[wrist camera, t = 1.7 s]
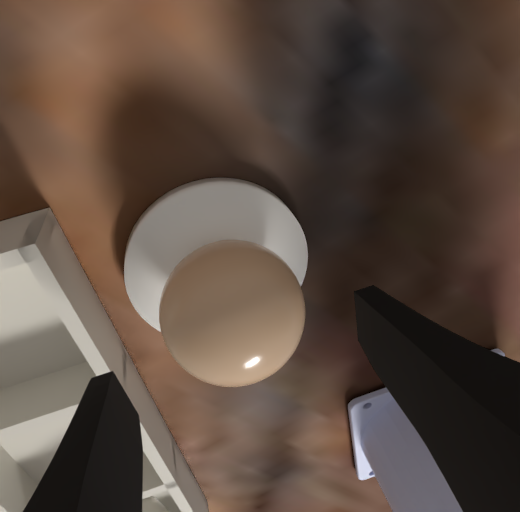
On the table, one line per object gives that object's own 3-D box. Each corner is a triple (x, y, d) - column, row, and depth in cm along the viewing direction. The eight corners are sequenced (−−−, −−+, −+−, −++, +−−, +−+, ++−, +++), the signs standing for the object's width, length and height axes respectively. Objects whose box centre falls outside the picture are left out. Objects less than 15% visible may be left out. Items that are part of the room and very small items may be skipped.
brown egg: (269, 198, 15) (318, 271, 11) (289, 300, 18) (335, 389, 14) (136, 238, 14) (136, 329, 10) (178, 337, 17) (191, 439, 13)
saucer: (287, 154, 15) (293, 161, 14) (311, 301, 19) (317, 312, 18) (93, 209, 14) (91, 220, 14) (159, 350, 18) (160, 363, 18)
